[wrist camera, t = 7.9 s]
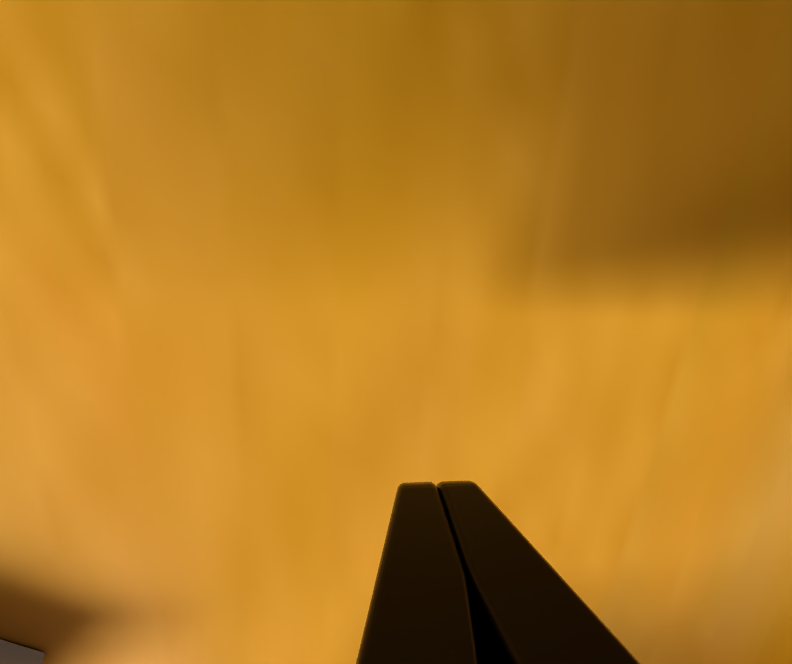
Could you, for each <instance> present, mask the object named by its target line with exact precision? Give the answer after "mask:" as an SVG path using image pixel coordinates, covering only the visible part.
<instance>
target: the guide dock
mask: <svg viewBox="0 0 792 664" xmlns="http://www.w3.org/2000/svg"><path fill="white" fill-rule="evenodd" d="M44 656H45V653H43V652H40V651H37V650H33V649H30V648H27V647H23V646H20V645H17V644H13V643H10V642H7V641H4V640H0V664H42V663H43V659H44Z"/></svg>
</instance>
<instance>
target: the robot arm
mask: <svg viewBox="0 0 792 664" xmlns="http://www.w3.org/2000/svg"><path fill="white" fill-rule="evenodd" d="M356 664H640V663H639V662H638V661H637V660H636V659H635V658H634V657H633V655H632V654H631V653H630V652H629V651H628V650H627V649H626V648H625V647H624V646H623V644H622V643H621V642H620V641H619V640H618V639H617V638H616V637H615V636H614V635H613V633H612V632H611V631H610V630H609V629H608V628H607V627H606V626H605V625H604V624H603V622H602V621H601V620H600V619H599V618H598V617H597V616H596V615H595V614H594V613H593V611H592V610H591V609H590V608H589V607H588V606H587V605H586V604H585V603H584V602H583V600H582V599H581V598H580V597H579V596H578V595H577V594H576V593H575V592H574V591H573V590H572V588H571V587H570V586H569V585H568V584H567V583H566V582H565V581H564V580H563V579H562V577H561V576H560V575H559V574H558V573H557V572H556V571H555V570H554V569H553V568H552V566H551V565H550V564H549V563H548V562H547V561H546V560H545V559H544V558H543V557H542V555H541V554H540V553H539V552H538V551H537V550H536V549H535V548H534V547H533V546H532V544H531V543H530V542H529V541H528V540H527V539H526V538H525V537H524V536H523V535H522V533H521V532H520V531H519V530H518V529H517V528H516V527H515V526H514V525H513V524H512V522H511V521H510V520H509V519H508V518H507V517H506V516H505V515H504V514H503V513H502V512H501V510H500V509H499V508H498V507H497V506H496V505H495V504H494V503H493V502H492V501H491V499H490V498H489V497H488V496H487V495H486V494H485V493H484V492H483V491H482V490H481V488H480V487H479V486H478V485H477V484H475V483H474V482H471V481H447V482H440V483H439V484H437V486H436V485H435V484H433V483H432V482H418V483H402V484H400V485H399V487H398V489H397V493H396V497H395V501H394V506H393V510H392V514H391V518H390V523H389V527H388V531H387V535H386V539H385V544H384V548H383V552H382V556H381V561H380V565H379V569H378V573H377V577H376V582H375V586H374V590H373V594H372V599H371V603H370V607H369V611H368V615H367V620H366V624H365V628H364V632H363V637H362V641H361V645H360V649H359V653H358V658H357V662H356Z"/></svg>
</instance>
